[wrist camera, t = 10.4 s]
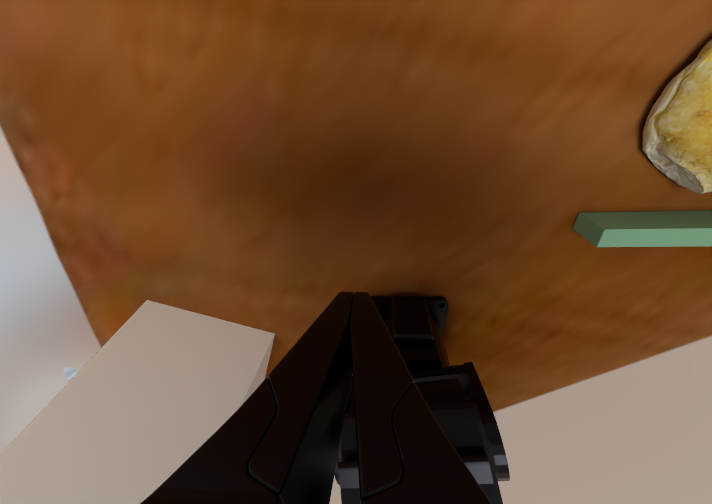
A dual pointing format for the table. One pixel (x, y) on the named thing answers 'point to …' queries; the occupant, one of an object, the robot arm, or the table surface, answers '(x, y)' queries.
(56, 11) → the table surface
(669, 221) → the mini golf green
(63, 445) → the milk
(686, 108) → the bread roll
